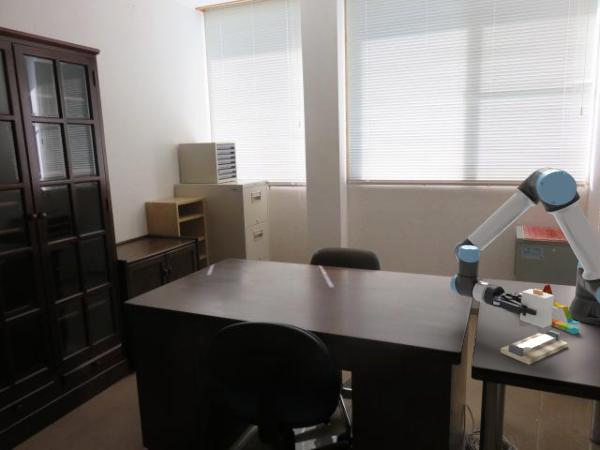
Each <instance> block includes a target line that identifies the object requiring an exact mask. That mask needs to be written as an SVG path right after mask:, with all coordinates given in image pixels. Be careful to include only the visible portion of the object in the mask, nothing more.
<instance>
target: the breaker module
mask: <svg viewBox="0 0 600 450" xmlns="http://www.w3.org/2000/svg"><path fill="white" fill-rule="evenodd" d="M521 293H522V297H521V304H523V305H525V306H527V308H528V306H532V307H535V308H538V309H541V310H545V311H548V320H544V319H541V318H538V317H535V316H532V315H529V314H527V313H526V316H523V313H521V314H519V322H518V323H519V326H520V327H522V328H523V327H527V326H529V325H533V326H535V327H536V326H537V333H542V334H545V333H546V332H548V331H550V330H552V326H551V325H552V319H553V315H552V314H553V307H554V306H553V303H554V300H555V295H554V294H553V295H551V294H547V293H544V292H543V289H540V288H529V289H527V290H526V289H525V290H523V291H521Z"/></svg>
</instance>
